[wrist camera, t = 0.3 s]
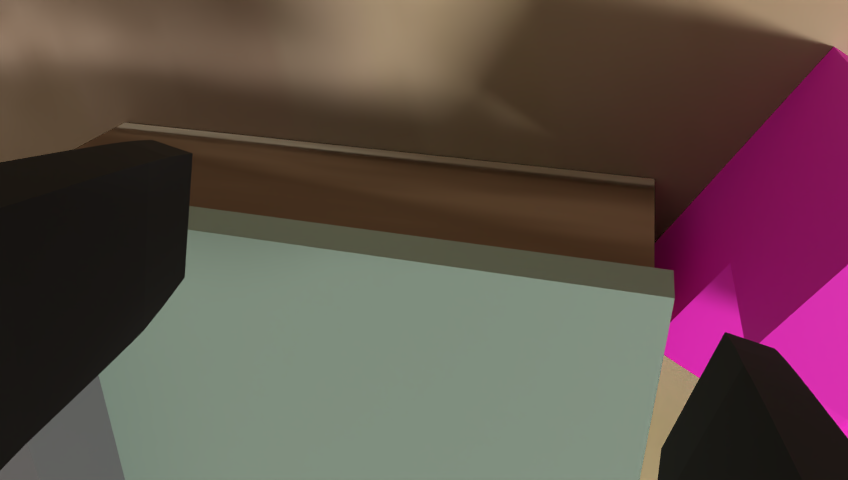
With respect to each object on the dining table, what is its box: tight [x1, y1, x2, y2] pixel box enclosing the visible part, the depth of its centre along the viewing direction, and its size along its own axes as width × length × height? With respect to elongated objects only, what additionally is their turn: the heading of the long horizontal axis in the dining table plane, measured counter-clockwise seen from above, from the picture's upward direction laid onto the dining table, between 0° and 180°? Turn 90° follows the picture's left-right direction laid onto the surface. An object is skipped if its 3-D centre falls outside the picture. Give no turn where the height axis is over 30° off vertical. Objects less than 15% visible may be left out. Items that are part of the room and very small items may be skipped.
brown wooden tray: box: [74, 123, 655, 268], centre depth 21 cm, size 12×15×5 cm
